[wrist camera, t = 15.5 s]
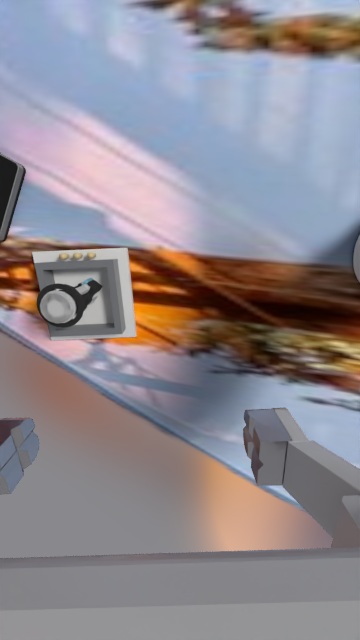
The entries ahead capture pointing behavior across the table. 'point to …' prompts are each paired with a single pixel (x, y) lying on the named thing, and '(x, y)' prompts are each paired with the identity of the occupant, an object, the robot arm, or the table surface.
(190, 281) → the table surface
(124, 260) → the dock
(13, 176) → the external hard drive
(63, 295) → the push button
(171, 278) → the table surface
